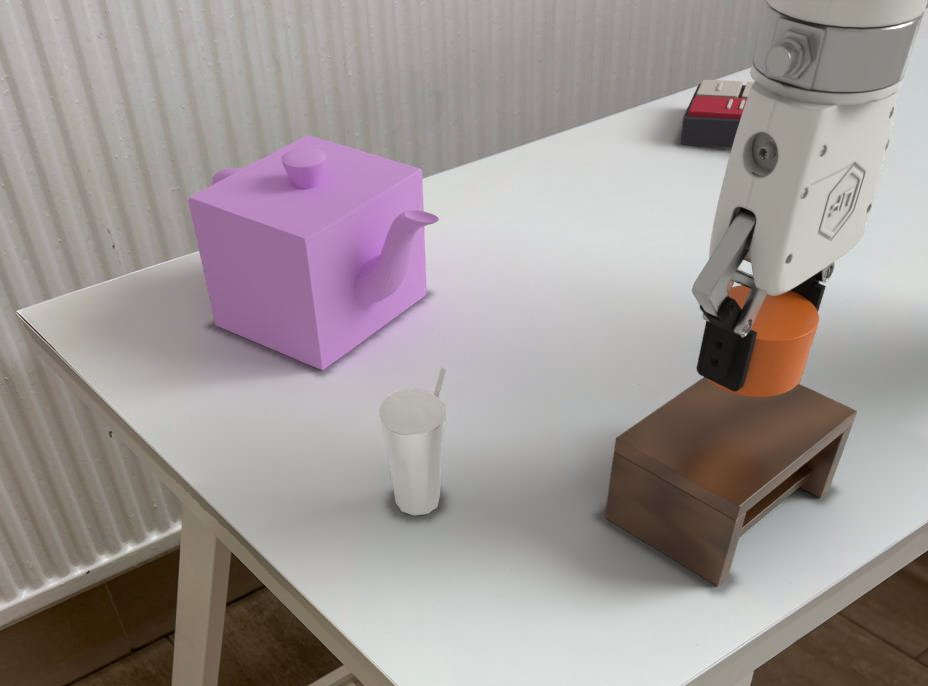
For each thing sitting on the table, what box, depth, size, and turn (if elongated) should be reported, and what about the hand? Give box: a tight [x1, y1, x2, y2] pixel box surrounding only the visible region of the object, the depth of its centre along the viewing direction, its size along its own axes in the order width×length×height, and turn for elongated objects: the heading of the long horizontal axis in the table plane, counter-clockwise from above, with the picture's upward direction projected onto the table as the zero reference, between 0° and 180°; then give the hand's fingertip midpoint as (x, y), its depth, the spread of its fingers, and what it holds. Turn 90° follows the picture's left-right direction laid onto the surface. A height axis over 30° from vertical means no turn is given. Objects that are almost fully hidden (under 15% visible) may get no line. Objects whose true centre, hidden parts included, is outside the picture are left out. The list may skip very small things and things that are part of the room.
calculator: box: [680, 79, 755, 148], centre depth 113 cm, size 11×4×15 cm
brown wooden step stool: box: [604, 376, 858, 587], centre depth 69 cm, size 10×14×7 cm
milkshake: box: [379, 366, 447, 517], centre depth 69 cm, size 4×5×10 cm
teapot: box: [187, 134, 440, 371], centre depth 85 cm, size 15×25×14 cm, turn 54°
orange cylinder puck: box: [706, 284, 820, 397], centre depth 61 cm, size 7×7×4 cm
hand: (753, 355), depth 62 cm, fingers closed on orange cylinder puck, 6 cm apart
